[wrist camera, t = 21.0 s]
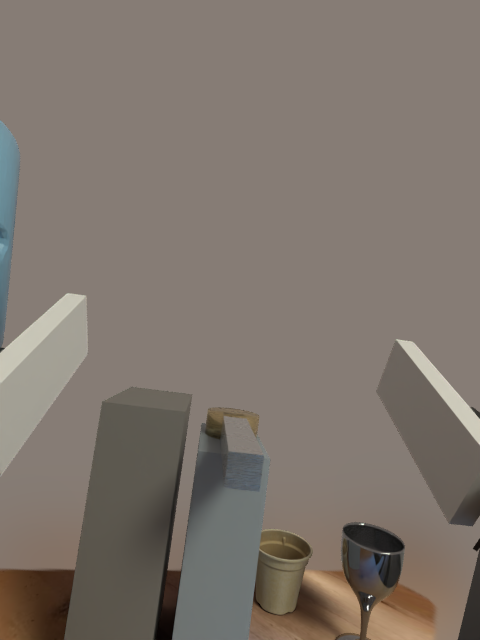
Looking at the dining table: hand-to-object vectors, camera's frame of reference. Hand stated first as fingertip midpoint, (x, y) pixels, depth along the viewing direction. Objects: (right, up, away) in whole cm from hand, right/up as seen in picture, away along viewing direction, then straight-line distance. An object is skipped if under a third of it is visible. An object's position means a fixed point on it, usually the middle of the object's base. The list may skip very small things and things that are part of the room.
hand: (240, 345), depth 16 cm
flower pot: (+5, -43, +42) cm, 60 cm away
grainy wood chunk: (-1, -14, +27) cm, 30 cm away
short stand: (-5, -40, +30) cm, 50 cm away
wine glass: (+16, -43, +33) cm, 57 cm away
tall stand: (-15, -39, +30) cm, 51 cm away
